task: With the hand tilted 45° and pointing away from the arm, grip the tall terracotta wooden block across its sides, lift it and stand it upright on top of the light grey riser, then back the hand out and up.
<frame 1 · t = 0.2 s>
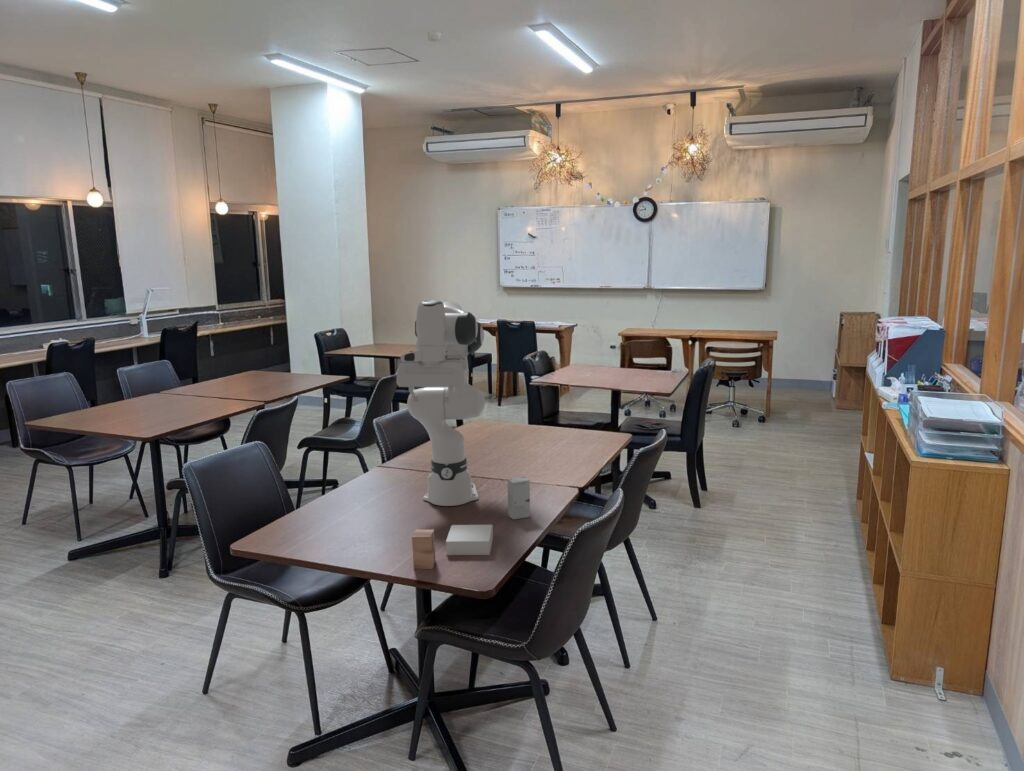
hand: (431, 402, 207), 39 cm above the table, tool pointing down, fingers open, 8 cm apart
skincare box: (519, 516, 220), on the table
terracotta block: (424, 564, 187), on the table
riser: (470, 546, 198), on the table
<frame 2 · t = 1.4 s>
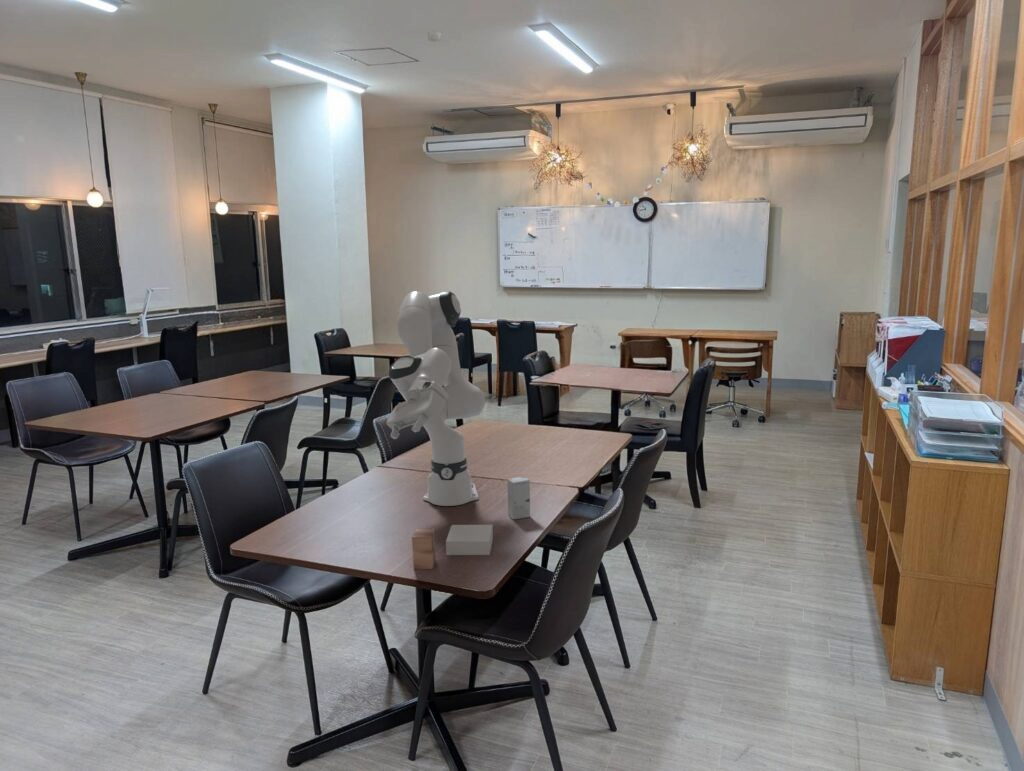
hand: (404, 434, 190), 34 cm above the table, tool tilted 50°, fingers open, 8 cm apart
nothing on the table moved.
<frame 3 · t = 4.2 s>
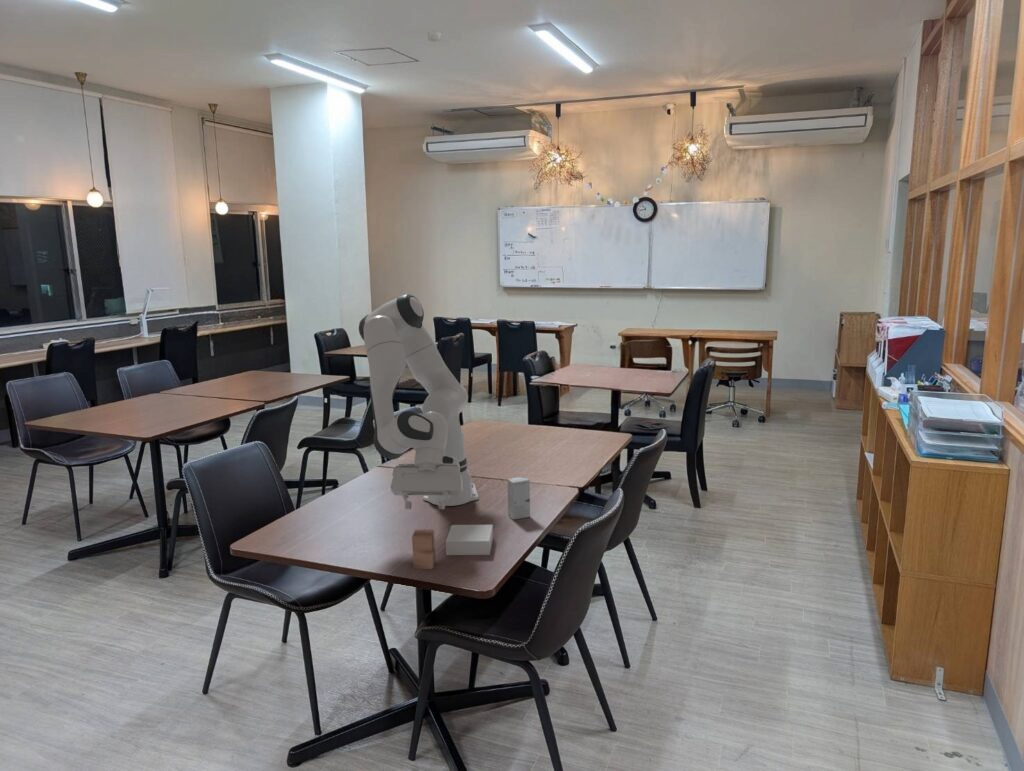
hand: (424, 508, 193), 13 cm above the table, tool tilted 45°, fingers open, 8 cm apart
nothing on the table moved.
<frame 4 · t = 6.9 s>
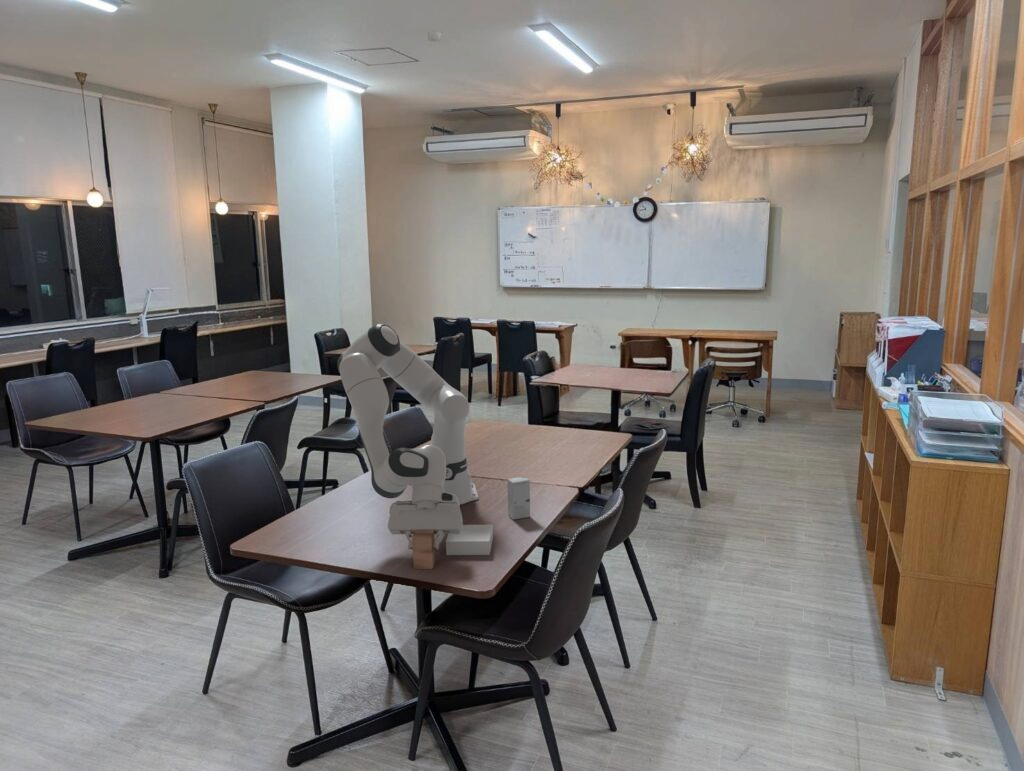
hand: (423, 548, 185), 5 cm above the table, tool tilted 45°, fingers closed on terracotta block, 5 cm apart
terracotta block: (424, 564, 187), on the table, touching gripper
everything else where it was.
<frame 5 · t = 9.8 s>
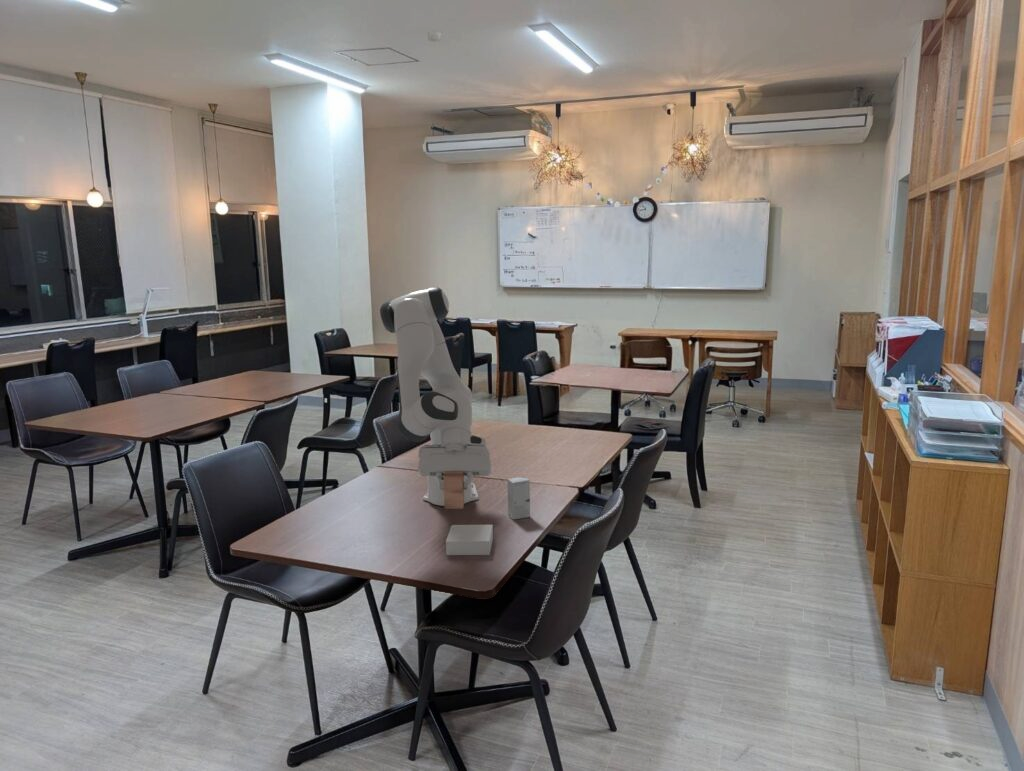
hand: (453, 489, 189), 19 cm above the table, tool tilted 45°, fingers closed on terracotta block, 5 cm apart
terracotta block: (454, 505, 191), point 14 cm above the table, touching gripper
everything else where it was.
when the fingers open (10 cm above the table, at t = 12.9 s): terracotta block drops 1 cm, resting on riser.
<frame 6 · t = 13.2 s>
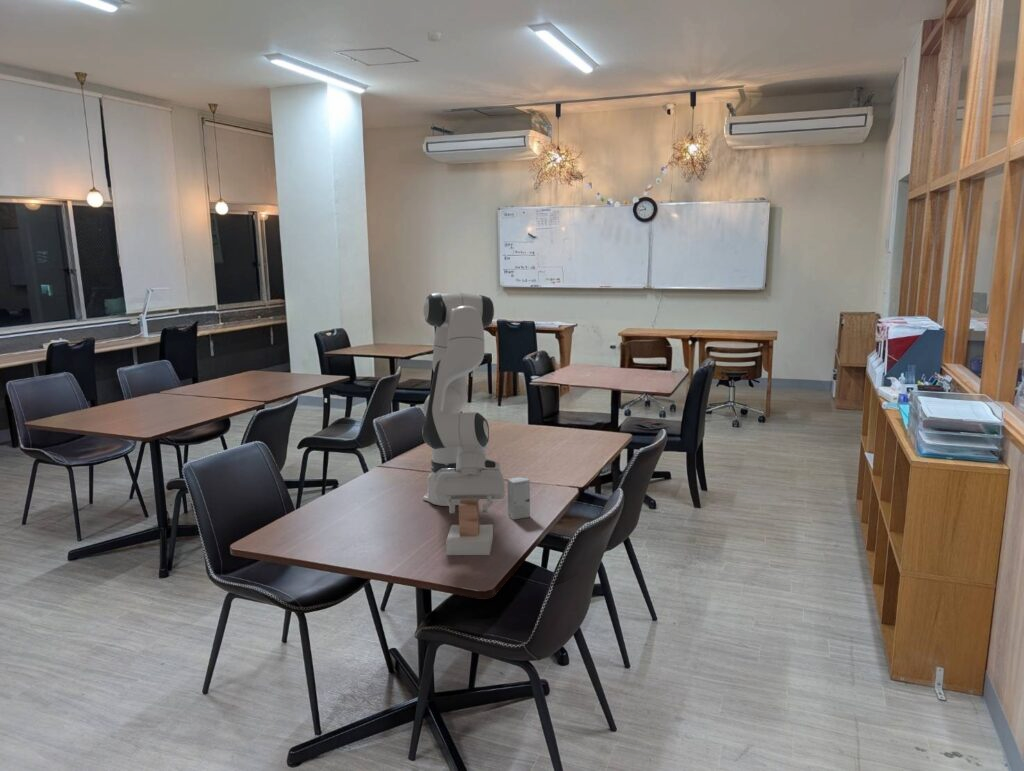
hand: (468, 512, 195), 10 cm above the table, tool tilted 45°, fingers open, 8 cm apart
terracotta block: (469, 532, 197), point 4 cm above the table, touching riser
everything else where it was.
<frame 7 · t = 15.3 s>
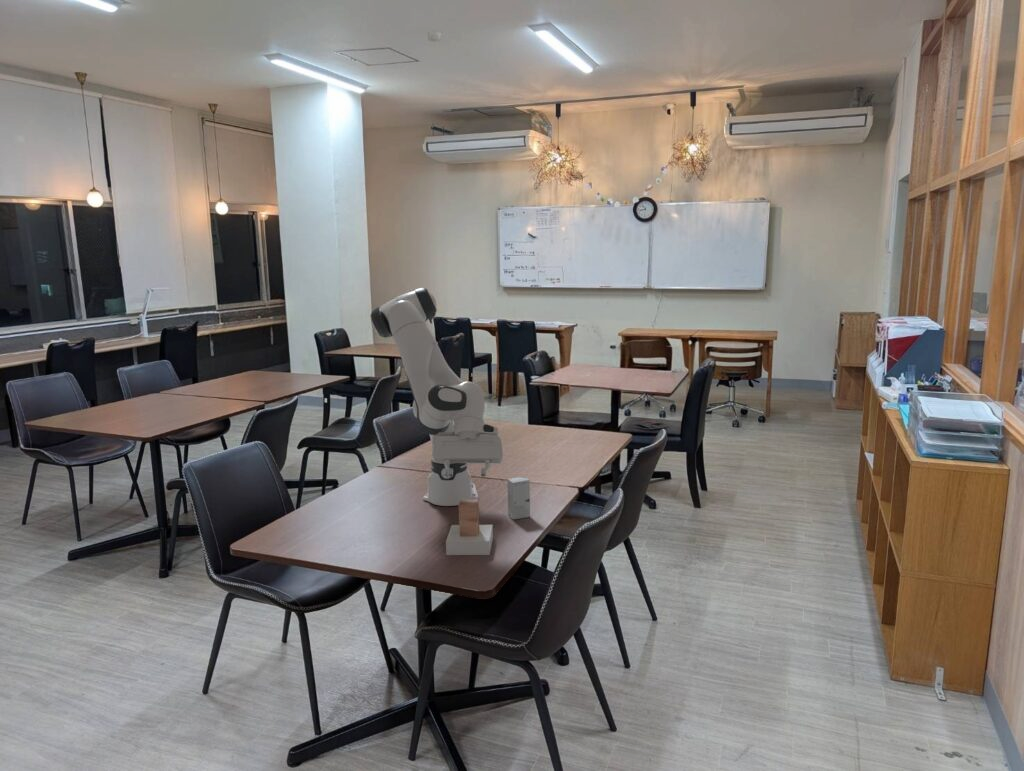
hand: (466, 475, 196), 20 cm above the table, tool tilted 45°, fingers open, 8 cm apart
nothing on the table moved.
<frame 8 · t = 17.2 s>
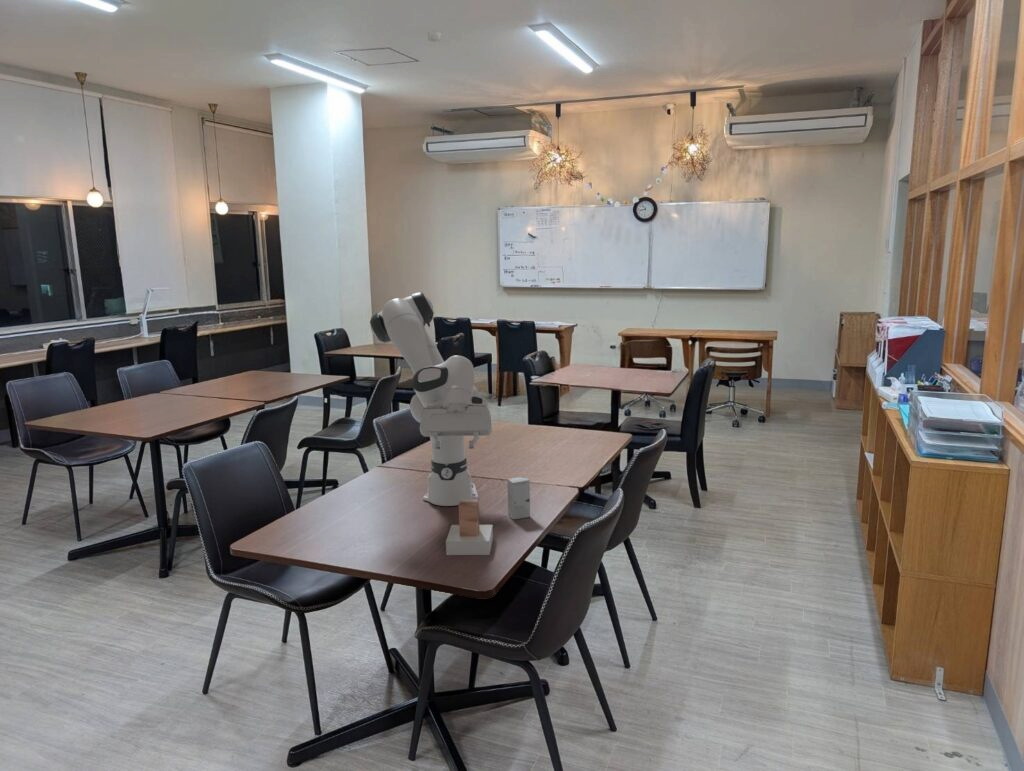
hand: (454, 448, 191), 29 cm above the table, tool tilted 45°, fingers open, 8 cm apart
nothing on the table moved.
at the end: terracotta block inside the target area on the riser (0.0 cm from its centre), point 4.0 cm above the riser's base; terracotta block tilted 0°; the gripper is holding nothing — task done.
